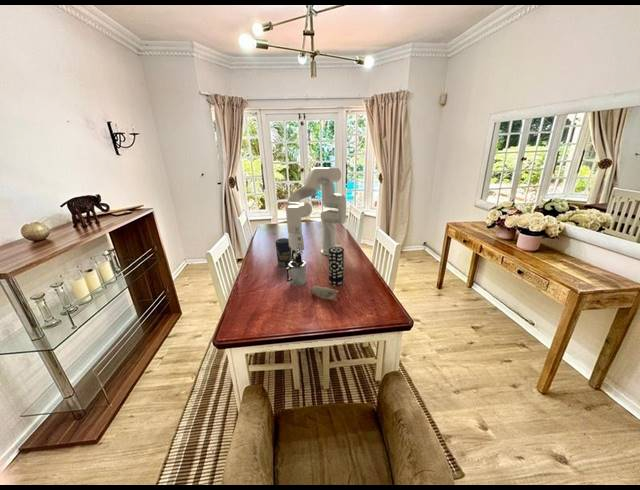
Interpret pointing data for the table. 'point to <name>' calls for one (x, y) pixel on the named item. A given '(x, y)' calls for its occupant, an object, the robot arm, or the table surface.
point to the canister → (283, 252)
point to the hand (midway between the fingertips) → (296, 260)
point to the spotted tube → (336, 266)
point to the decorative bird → (325, 292)
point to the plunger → (295, 259)
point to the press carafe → (296, 273)
